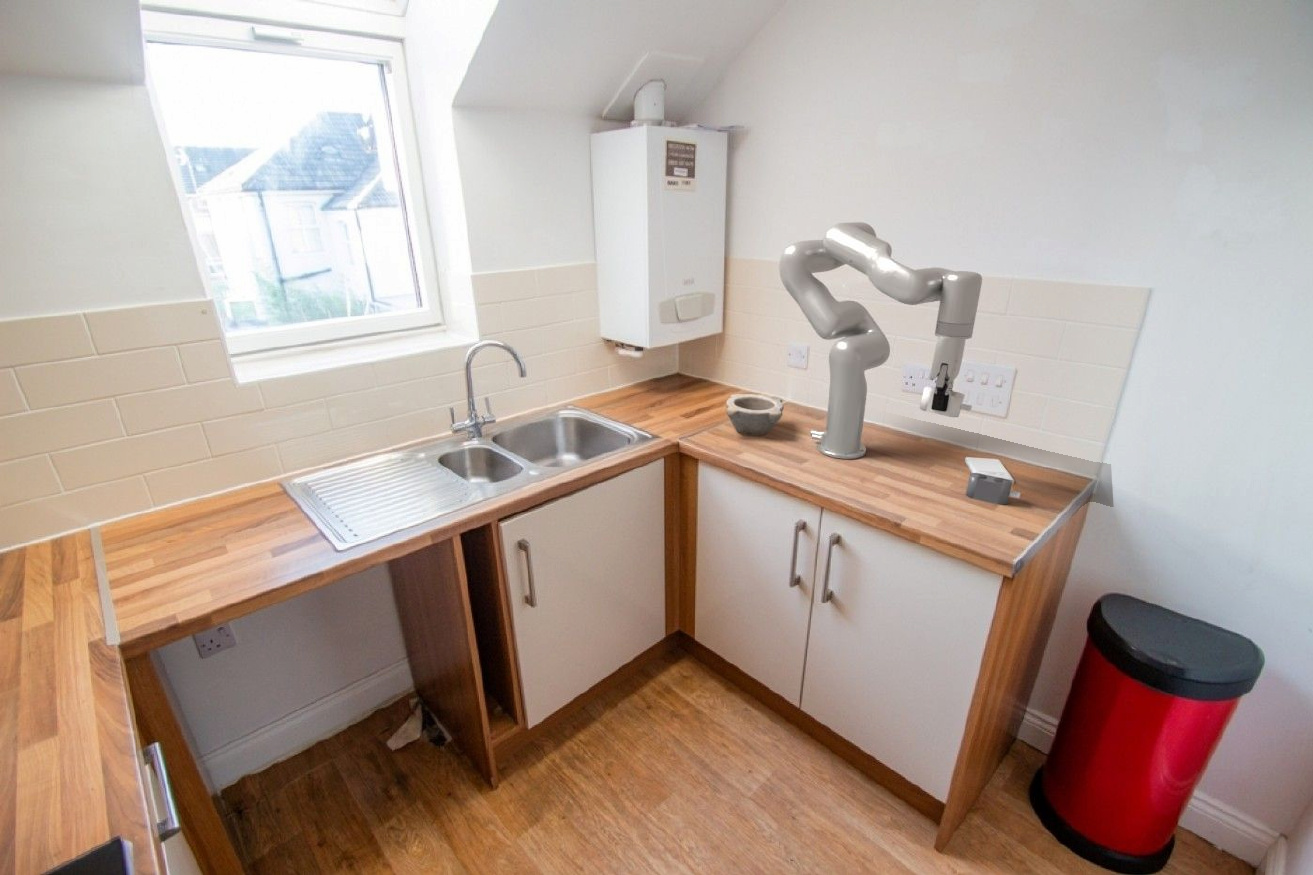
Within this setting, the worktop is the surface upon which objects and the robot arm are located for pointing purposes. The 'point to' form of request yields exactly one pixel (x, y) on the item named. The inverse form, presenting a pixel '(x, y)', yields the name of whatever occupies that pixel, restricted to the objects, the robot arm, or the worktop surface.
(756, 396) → the mortar
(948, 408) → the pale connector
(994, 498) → the charcoal connector
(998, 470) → the external hard drive
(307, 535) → the worktop surface
